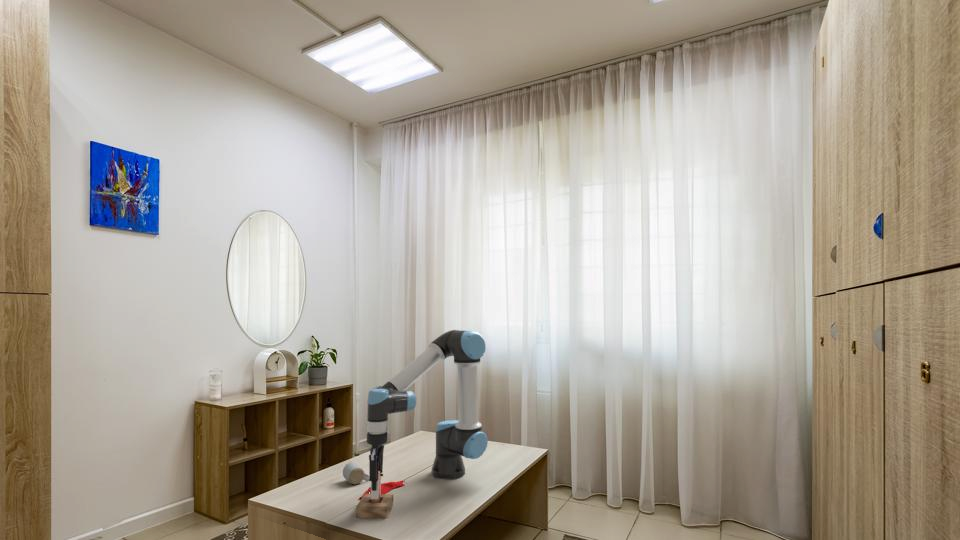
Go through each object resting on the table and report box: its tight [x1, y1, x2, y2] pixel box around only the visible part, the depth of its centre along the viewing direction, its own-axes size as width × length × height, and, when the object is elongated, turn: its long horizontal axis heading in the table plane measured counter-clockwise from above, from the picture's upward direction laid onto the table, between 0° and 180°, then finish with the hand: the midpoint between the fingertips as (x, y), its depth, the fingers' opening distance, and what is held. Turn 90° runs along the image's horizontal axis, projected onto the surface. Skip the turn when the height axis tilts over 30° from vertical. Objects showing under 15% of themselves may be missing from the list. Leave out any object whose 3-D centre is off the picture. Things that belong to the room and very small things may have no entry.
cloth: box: [357, 480, 406, 502], centre depth 197 cm, size 26×14×2 cm, turn 131°
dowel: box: [371, 471, 381, 503], centre depth 176 cm, size 3×3×14 cm
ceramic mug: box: [342, 461, 369, 486], centre depth 205 cm, size 11×8×8 cm
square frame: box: [355, 493, 395, 519], centre depth 176 cm, size 11×11×4 cm
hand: (375, 496), depth 176 cm, fingers closed on dowel, 3 cm apart
